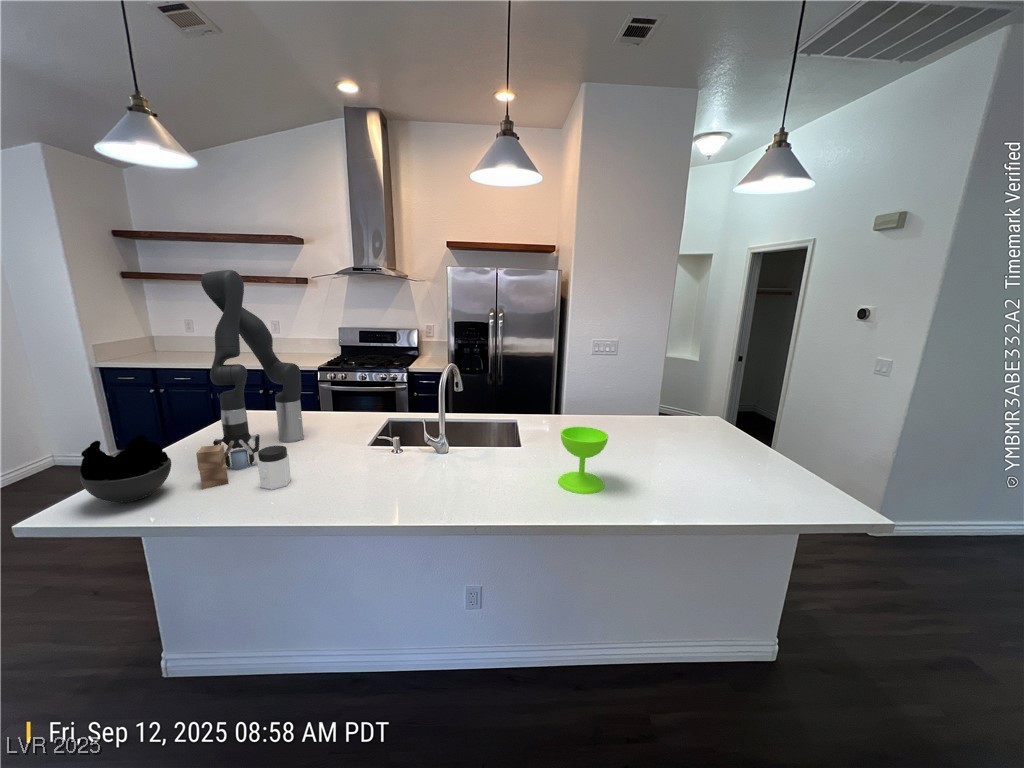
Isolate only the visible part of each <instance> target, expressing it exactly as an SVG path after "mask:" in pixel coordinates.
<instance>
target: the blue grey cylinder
mask: <svg viewBox="0 0 1024 768" xmlns="http://www.w3.org/2000/svg"><path fill="white" fill-rule="evenodd" d="M229 454H230V463H231V467H232V470H234V471H239V470H245V469H247V468H249V467H250V462H249V453H248V452H247V450H245V449H244V448H236V449H233V450H230V452H229Z"/></svg>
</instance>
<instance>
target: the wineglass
mask: <svg viewBox="0 0 1024 768" xmlns="http://www.w3.org/2000/svg"><path fill="white" fill-rule="evenodd" d="M608 439H609V434H607V433H606V432H605V431H603V430H601V429H598V428H593V427H589V426H588V427H587V426H570V427H565V428H563V429H561V431H560V440H561V443H562V445H563V447H564V448H565V449H566V451H567V452H569V453H570V454H571V455H572V456H574V457H577V458H579V465H578V471H570V472H566V473H562V474H561V475H560V476H559V478H558V479H557V484H558V485H559V487H560V488H561V489H563V490H565V491H567V492H570V493H575V494H579V495H593V494H598V493H599V492H601V491H603V490H604V488H605V484H604V481H603V480H602V479H601V478H600V477H599V476H597V475H596V474H592V473H590V472H586V471H585V469H586V467H585V466H586V459H590V458H593V457H595V456H597V455H599V454H601V452H602V451H603V450H604V449H605V447H606V445H608V441H609V440H608Z"/></svg>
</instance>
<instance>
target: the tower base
mask: <svg viewBox="0 0 1024 768" xmlns="http://www.w3.org/2000/svg"><path fill="white" fill-rule="evenodd" d="M227 468H228V467H227V466H226V462H225V463H224V465H223V466H222V468H220V469H211V470H202V471H199V475H200V476H199V477H200V484H201V490H205V489H211V488H216V487H220V486H225V485H229V477H228V471H227V470H228V469H227Z"/></svg>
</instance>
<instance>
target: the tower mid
mask: <svg viewBox="0 0 1024 768" xmlns="http://www.w3.org/2000/svg"><path fill="white" fill-rule="evenodd" d="M196 462H197V468H198V472H200V471H202V470H211V469H220V468H222V466H223V465H224V463H225V462H226V460H225V446H224V444H221V445H214V444H213V445H205V446H201V447H200V448H199V449H198V450H197V452H196Z"/></svg>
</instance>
